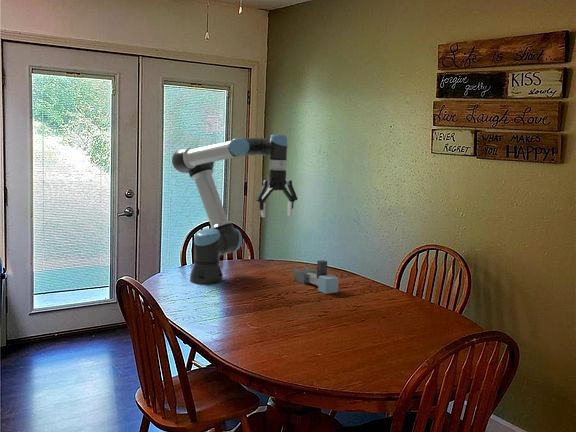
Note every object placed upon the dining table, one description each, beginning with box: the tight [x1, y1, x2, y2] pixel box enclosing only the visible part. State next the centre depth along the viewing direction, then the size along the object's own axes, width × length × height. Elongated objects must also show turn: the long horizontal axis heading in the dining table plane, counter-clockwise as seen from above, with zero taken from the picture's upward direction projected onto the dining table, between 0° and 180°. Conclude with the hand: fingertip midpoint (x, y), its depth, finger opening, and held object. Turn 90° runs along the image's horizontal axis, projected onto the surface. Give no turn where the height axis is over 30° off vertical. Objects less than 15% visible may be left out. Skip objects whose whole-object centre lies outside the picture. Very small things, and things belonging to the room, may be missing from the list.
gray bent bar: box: [306, 259, 328, 287], centre depth 270 cm, size 16×3×11 cm, turn 30°
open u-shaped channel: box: [293, 266, 317, 285], centre depth 280 cm, size 9×7×5 cm
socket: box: [317, 274, 339, 295], centre depth 263 cm, size 6×7×7 cm
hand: (276, 216), depth 267 cm, fingers open, 13 cm apart
